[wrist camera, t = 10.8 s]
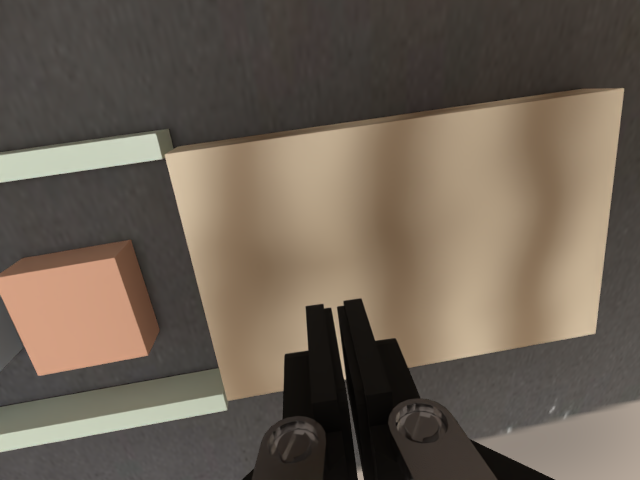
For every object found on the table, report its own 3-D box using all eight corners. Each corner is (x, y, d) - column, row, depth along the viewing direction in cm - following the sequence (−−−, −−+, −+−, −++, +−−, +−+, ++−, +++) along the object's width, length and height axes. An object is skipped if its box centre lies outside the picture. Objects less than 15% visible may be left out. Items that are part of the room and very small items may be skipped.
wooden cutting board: (582, 88, 20) (624, 88, 17) (563, 309, 24) (595, 333, 22) (177, 146, 19) (164, 154, 16) (231, 369, 23) (227, 400, 20)
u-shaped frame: (168, 128, 18) (155, 133, 16) (231, 381, 23) (227, 410, 21) (-213, 181, 17) (-278, 194, 15) (-66, 434, 22) (-101, 470, 20)
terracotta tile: (132, 237, 20) (114, 257, 18) (161, 326, 22) (148, 355, 19) (25, 256, 20) (-8, 278, 17) (63, 344, 21) (38, 375, 19)
